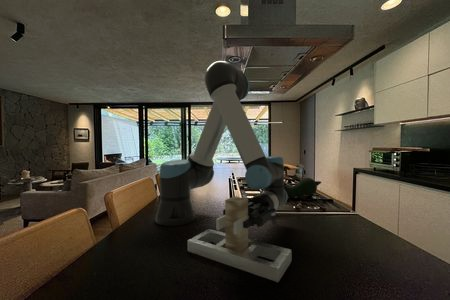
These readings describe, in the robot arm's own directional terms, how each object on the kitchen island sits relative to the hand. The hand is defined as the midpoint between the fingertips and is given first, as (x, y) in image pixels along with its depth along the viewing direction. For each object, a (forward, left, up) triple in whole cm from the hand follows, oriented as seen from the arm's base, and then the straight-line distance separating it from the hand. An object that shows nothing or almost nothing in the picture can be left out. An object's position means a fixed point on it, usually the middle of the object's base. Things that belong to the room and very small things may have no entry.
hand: (226, 226), depth 54 cm
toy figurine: (-3, +79, -10) cm, 80 cm away
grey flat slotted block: (0, +5, -10) cm, 11 cm away
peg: (0, +5, -8) cm, 10 cm away
